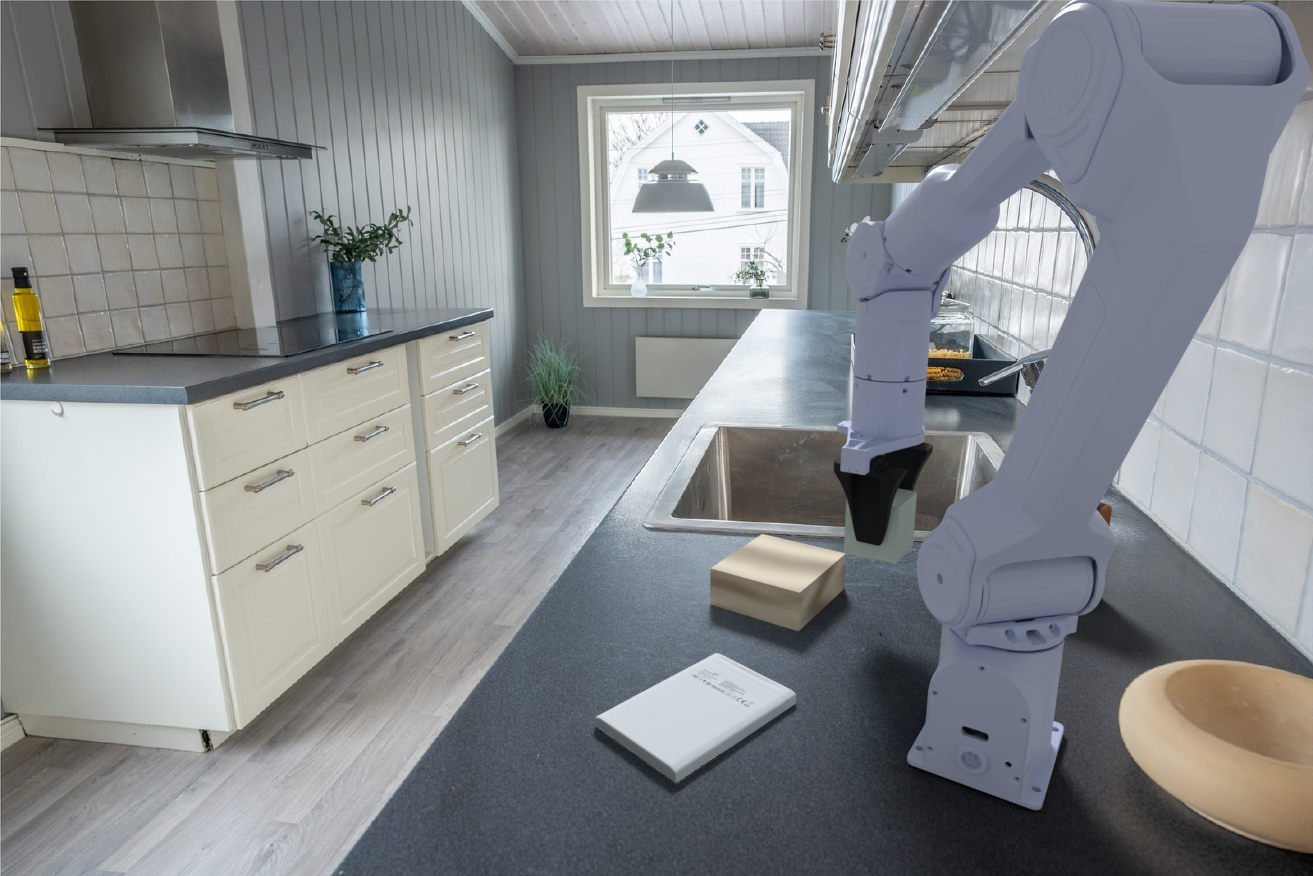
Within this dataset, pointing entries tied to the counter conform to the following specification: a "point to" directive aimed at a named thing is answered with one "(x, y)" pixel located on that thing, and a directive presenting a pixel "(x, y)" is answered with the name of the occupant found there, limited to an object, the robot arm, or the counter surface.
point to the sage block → (896, 535)
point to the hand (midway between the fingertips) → (879, 532)
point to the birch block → (778, 581)
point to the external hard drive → (696, 714)
